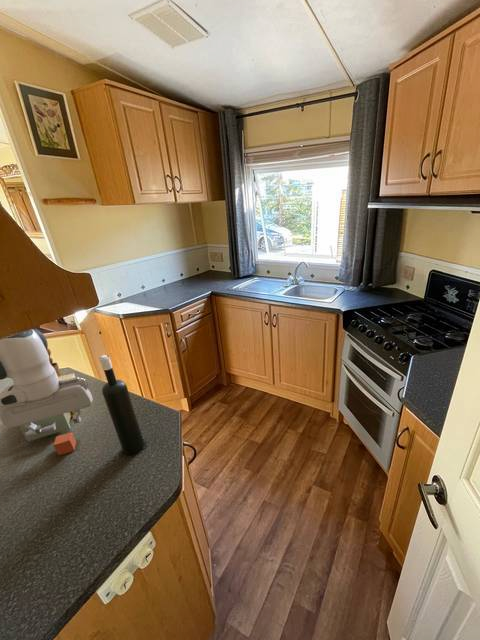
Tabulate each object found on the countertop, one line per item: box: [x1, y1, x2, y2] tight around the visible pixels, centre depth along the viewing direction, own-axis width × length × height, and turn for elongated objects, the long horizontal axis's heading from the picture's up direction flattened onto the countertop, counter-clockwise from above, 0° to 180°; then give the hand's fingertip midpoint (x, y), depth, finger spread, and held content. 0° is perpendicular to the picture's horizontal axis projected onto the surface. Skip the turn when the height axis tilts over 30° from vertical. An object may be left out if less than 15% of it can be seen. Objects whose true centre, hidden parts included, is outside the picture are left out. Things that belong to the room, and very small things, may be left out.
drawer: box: [18, 412, 72, 442], centre depth 92 cm, size 18×11×8 cm, turn 25°
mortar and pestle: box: [47, 348, 63, 377], centre depth 112 cm, size 7×6×18 cm
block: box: [53, 431, 77, 456], centre depth 85 cm, size 4×4×4 cm
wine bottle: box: [98, 354, 145, 456], centre depth 78 cm, size 6×6×30 cm
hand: (58, 427), depth 82 cm, fingers open, 8 cm apart
